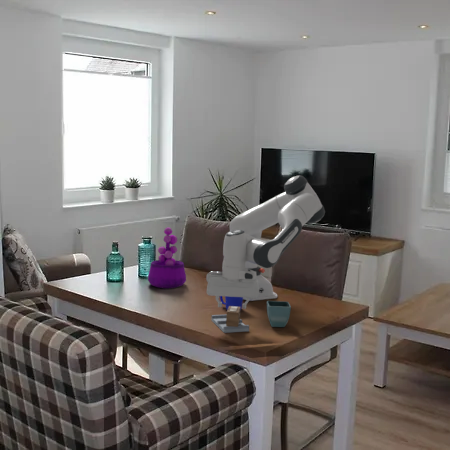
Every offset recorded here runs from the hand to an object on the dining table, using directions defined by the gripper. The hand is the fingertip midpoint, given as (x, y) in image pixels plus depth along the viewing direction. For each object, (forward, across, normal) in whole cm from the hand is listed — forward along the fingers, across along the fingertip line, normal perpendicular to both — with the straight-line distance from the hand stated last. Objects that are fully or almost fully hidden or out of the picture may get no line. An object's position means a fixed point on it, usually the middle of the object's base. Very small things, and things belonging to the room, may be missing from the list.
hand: (232, 307), depth 241 cm
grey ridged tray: (+8, -1, +4) cm, 9 cm away
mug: (+9, -2, +28) cm, 30 cm away
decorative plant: (+9, -35, +64) cm, 73 cm away
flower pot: (+8, +18, +7) cm, 21 cm away
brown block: (+6, +1, 0) cm, 6 cm away
